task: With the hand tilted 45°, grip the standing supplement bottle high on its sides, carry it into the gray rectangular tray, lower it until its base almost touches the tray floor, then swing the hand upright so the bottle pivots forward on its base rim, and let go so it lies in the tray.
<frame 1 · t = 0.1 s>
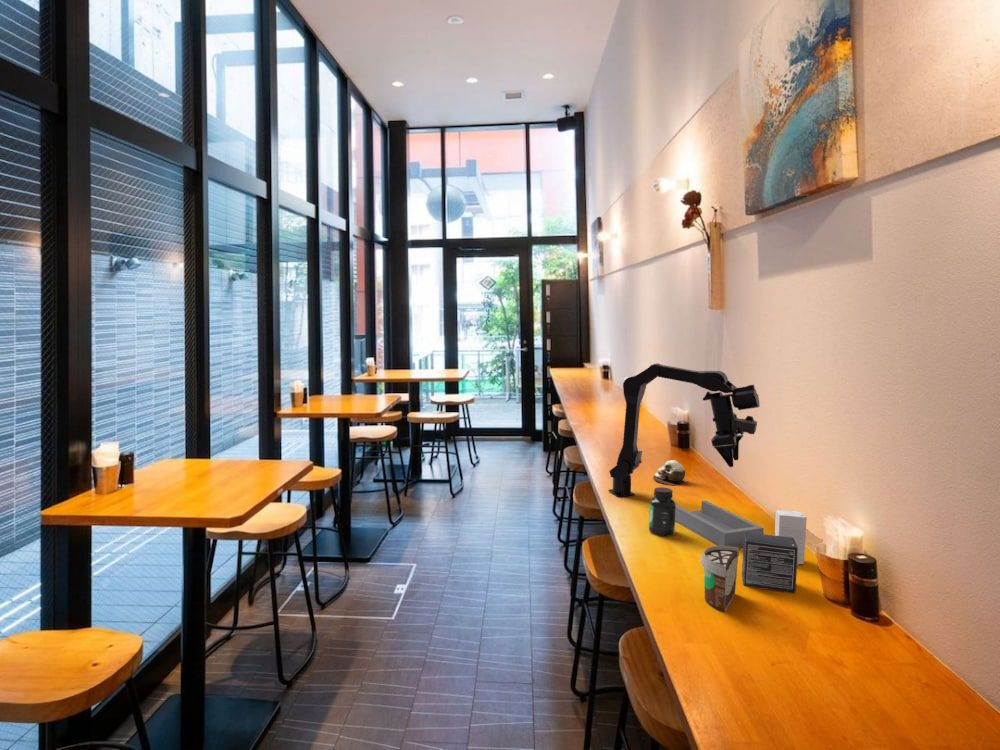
hand: (734, 463, 170), 15 cm above the counter, tool pointing down, fingers open, 9 cm apart
skull: (670, 481, 205), on the counter
gray rectangular tray: (712, 529, 159), on the counter
supplement bottle: (661, 532, 156), on the counter
small box: (767, 584, 127), on the counter
skincare box: (787, 561, 139), on the counter
food container: (714, 599, 120), on the counter
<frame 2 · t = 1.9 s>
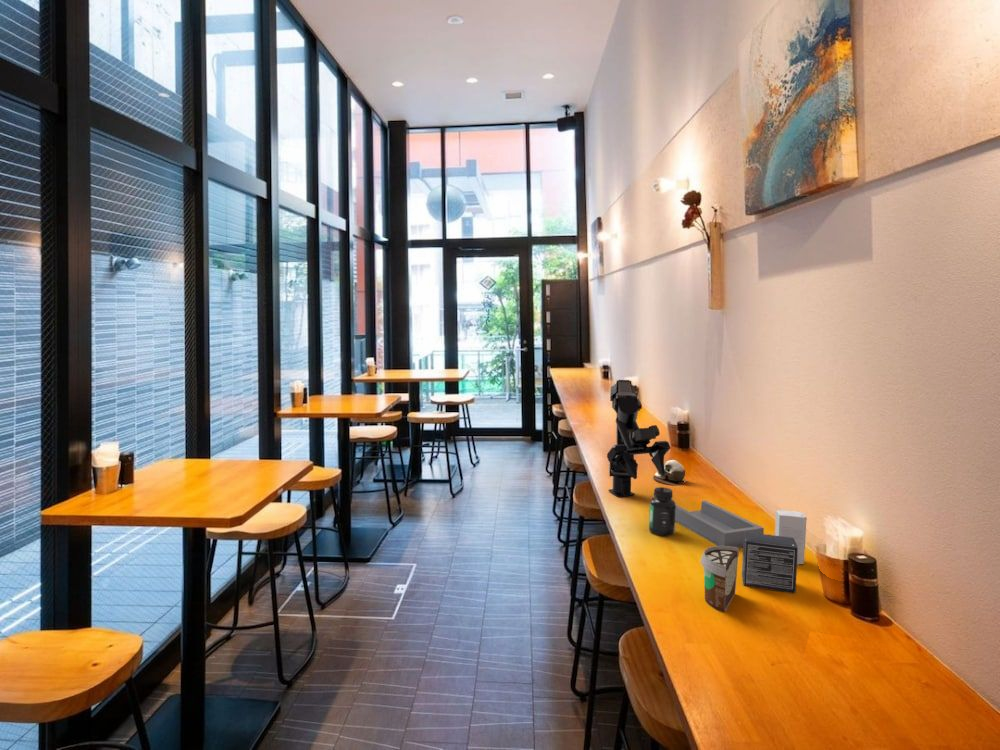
hand: (649, 476, 162), 13 cm above the counter, tool tilted 45°, fingers open, 9 cm apart
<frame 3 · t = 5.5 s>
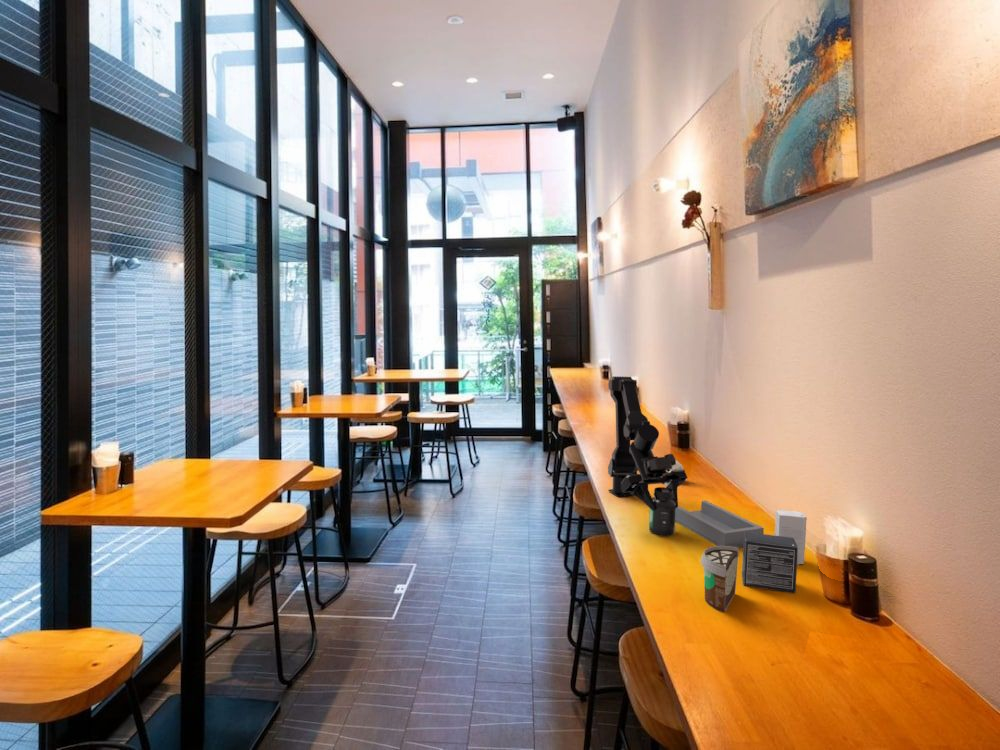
hand: (665, 508, 154), 7 cm above the counter, tool tilted 45°, fingers closed on supplement bottle, 7 cm apart
supplement bottle: (661, 532, 156), on the counter, touching gripper
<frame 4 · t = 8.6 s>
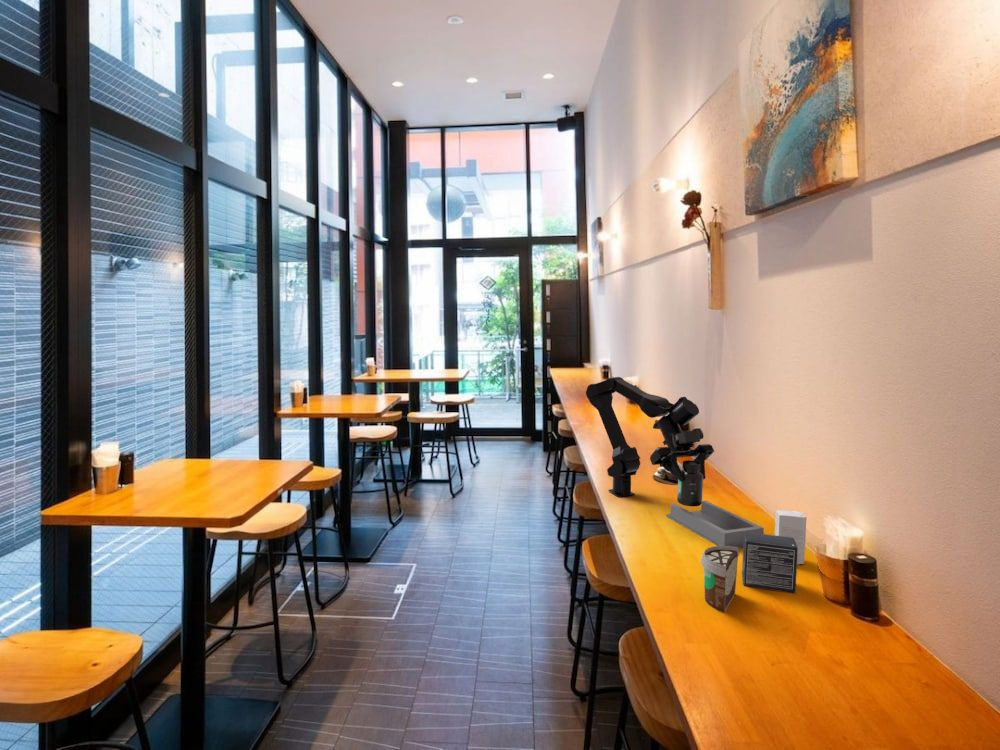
hand: (693, 480, 161), 13 cm above the counter, tool tilted 45°, fingers closed on supplement bottle, 7 cm apart
supplement bottle: (689, 503, 164), point 5 cm above the counter, touching gripper
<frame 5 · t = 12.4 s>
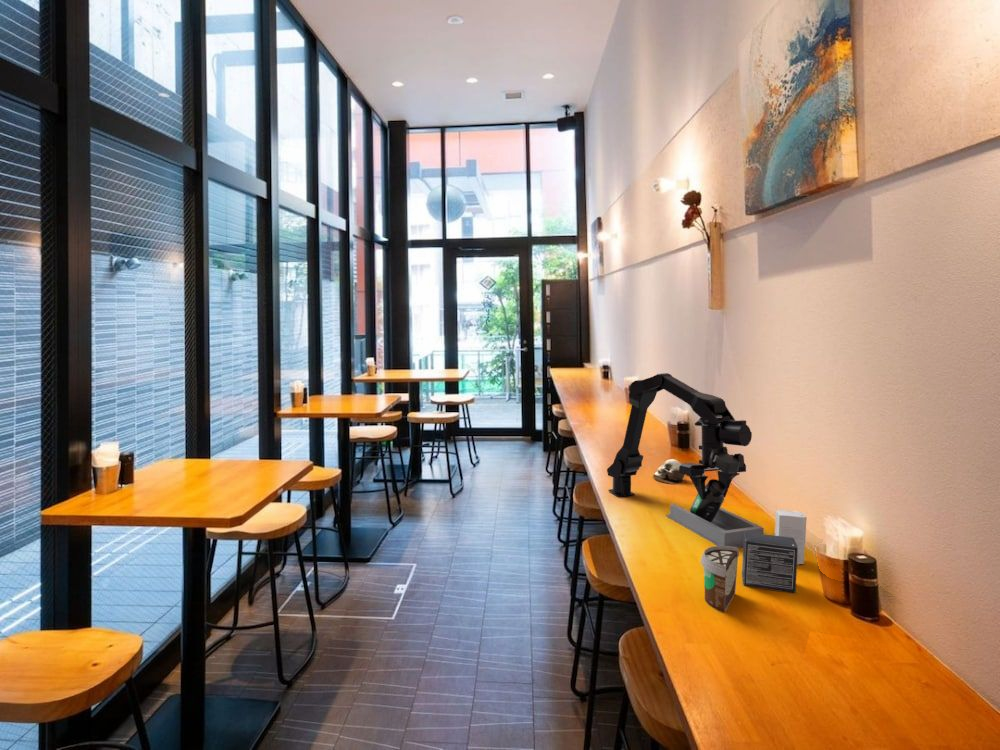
hand: (713, 498, 158), 9 cm above the counter, tool pointing down, fingers closed on supplement bottle, 7 cm apart
supplement bottle: (700, 515, 163), point 2 cm above the counter, touching gripper, gray rectangular tray
when the fingers open (8 cm above the counter, at t = 14.0 s): supplement bottle moves 3 cm, resting on gray rectangular tray.
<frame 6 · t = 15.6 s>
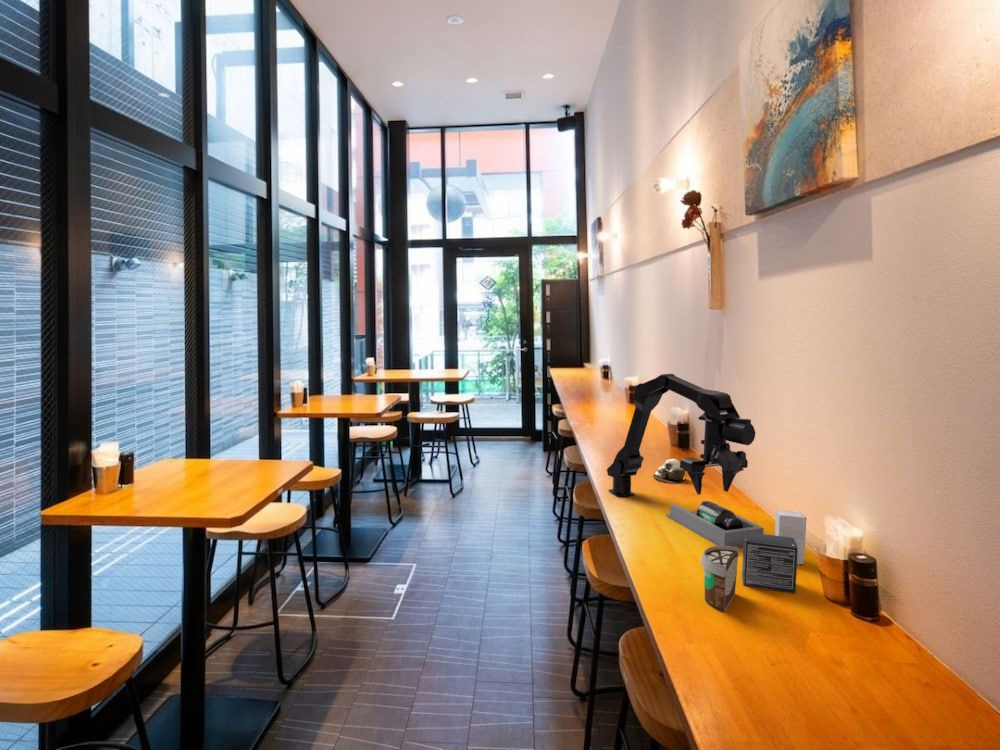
hand: (712, 492, 158), 10 cm above the counter, tool pointing down, fingers open, 9 cm apart
supplement bottle: (705, 511, 161), point 4 cm above the counter, touching gray rectangular tray
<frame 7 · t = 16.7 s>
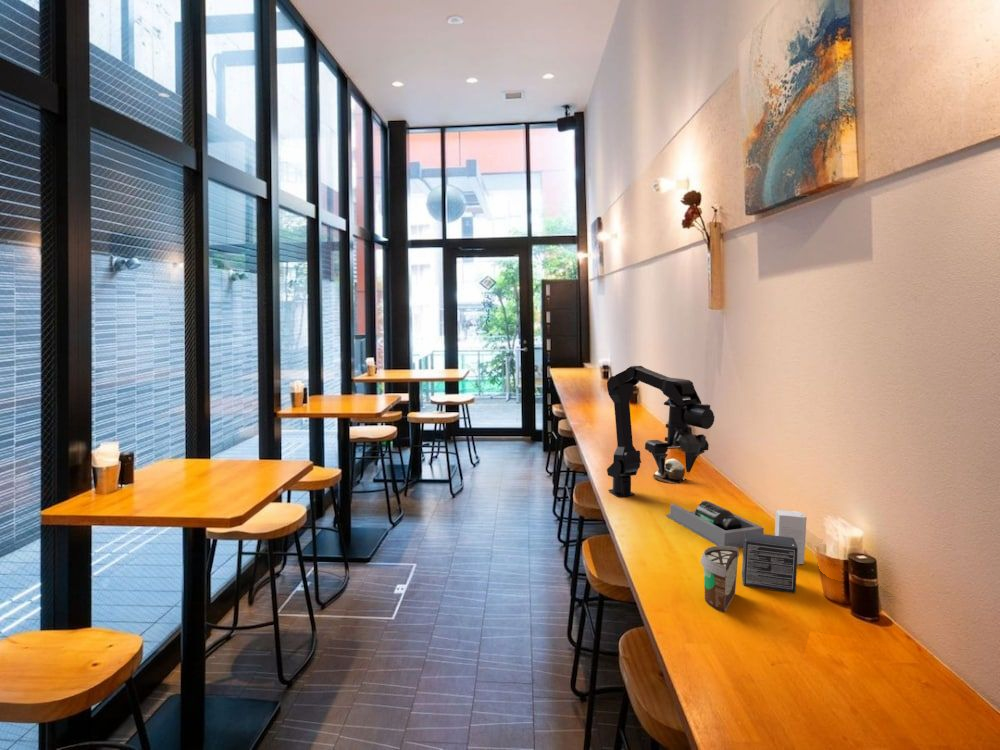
hand: (675, 473, 169), 12 cm above the counter, tool pointing down, fingers open, 9 cm apart
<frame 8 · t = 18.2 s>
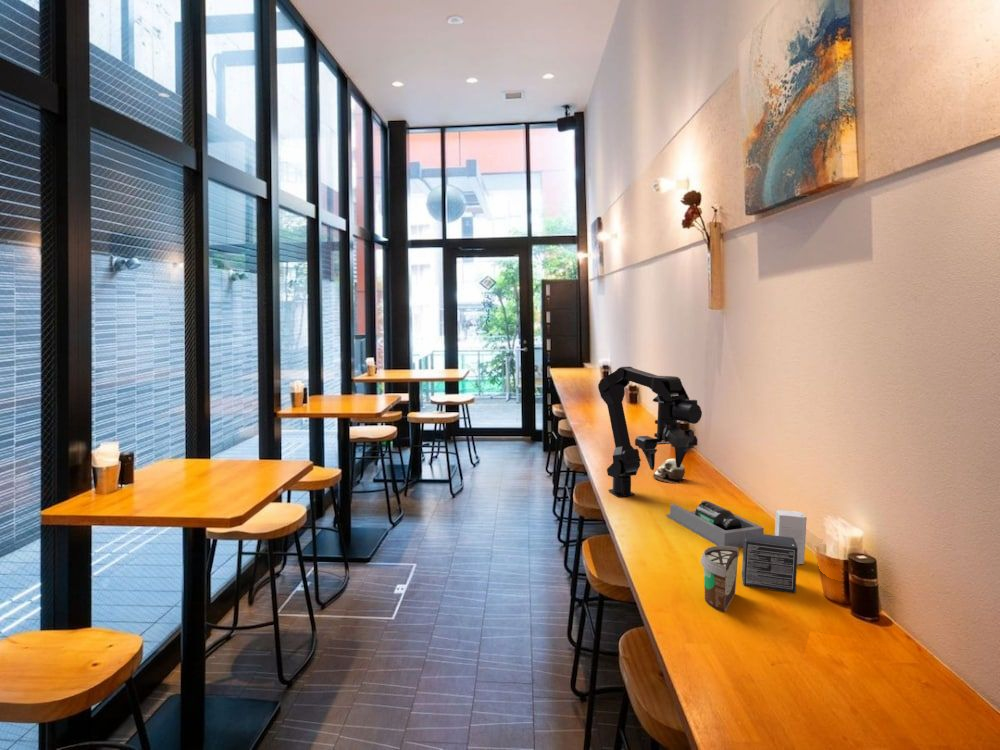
hand: (665, 468, 172), 13 cm above the counter, tool pointing down, fingers open, 9 cm apart
at the end: supplement bottle tilted 90°; supplement bottle inside the target area (1.0 cm from its centre), point 4.0 cm above the counter; supplement bottle touching gray rectangular tray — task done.
